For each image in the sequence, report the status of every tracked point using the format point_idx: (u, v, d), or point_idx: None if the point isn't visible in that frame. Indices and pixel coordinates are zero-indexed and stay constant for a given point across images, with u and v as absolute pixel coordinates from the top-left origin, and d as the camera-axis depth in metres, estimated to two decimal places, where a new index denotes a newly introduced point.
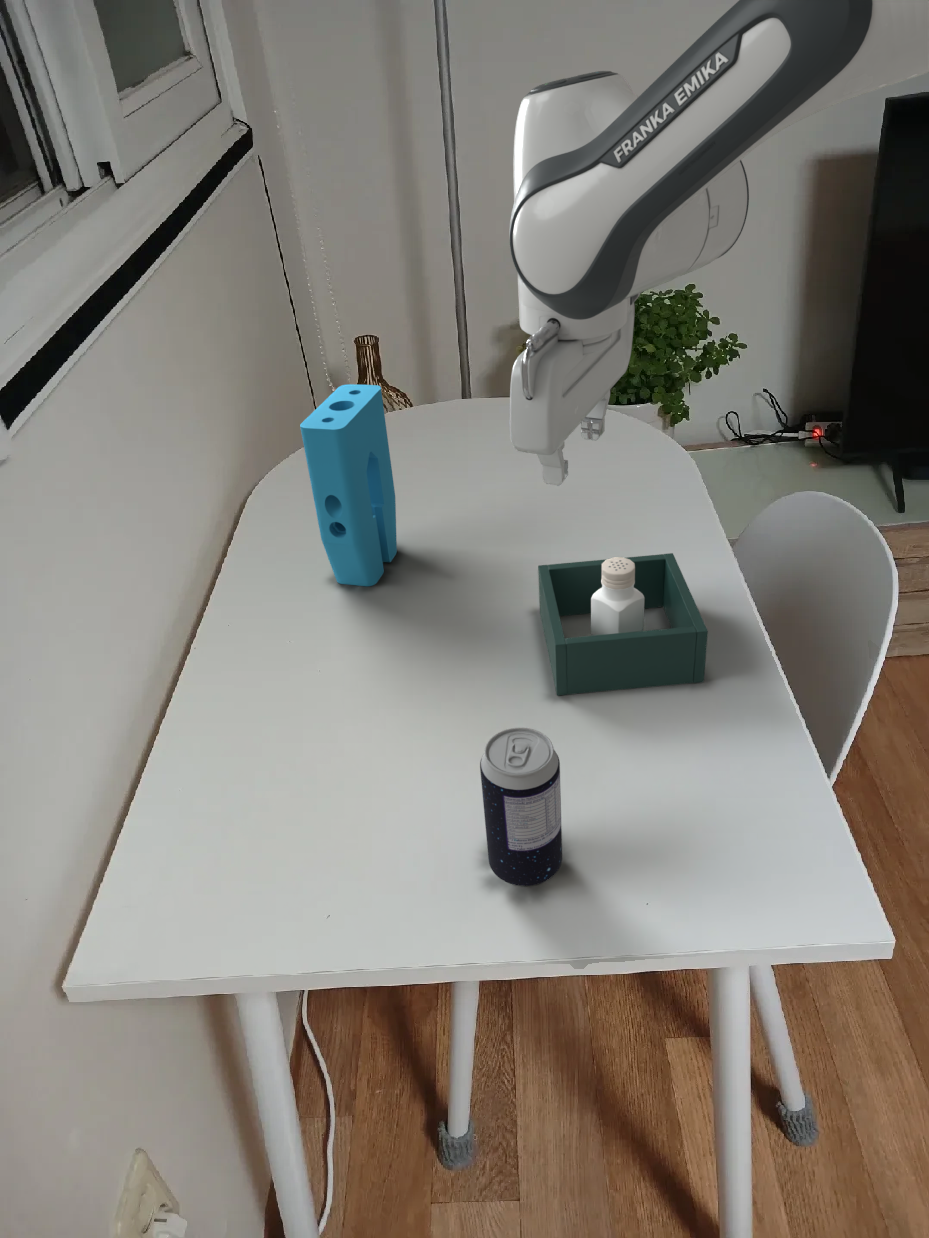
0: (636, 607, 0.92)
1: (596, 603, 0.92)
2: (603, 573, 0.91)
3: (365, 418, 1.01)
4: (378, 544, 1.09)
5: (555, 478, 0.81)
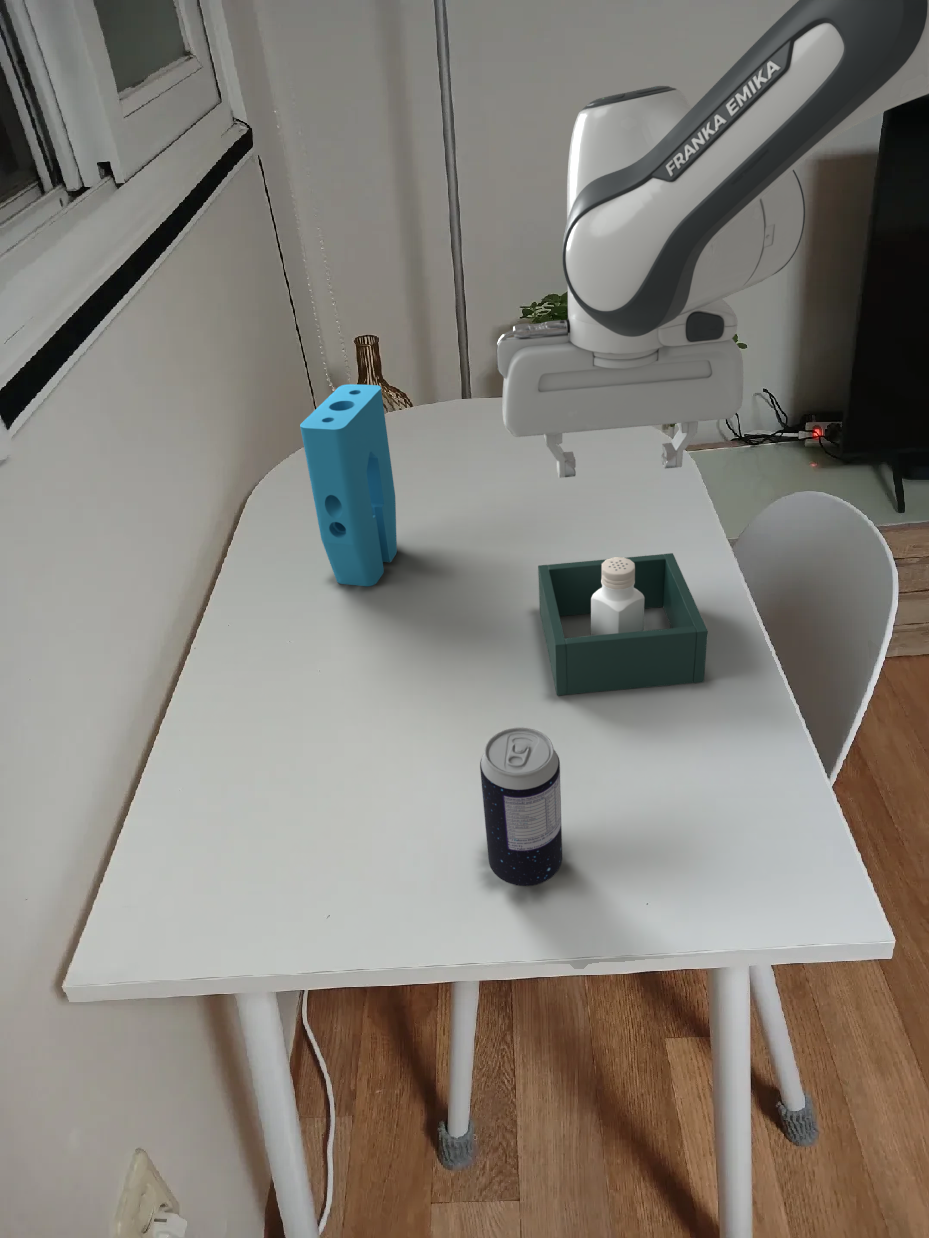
0: (636, 607, 0.92)
1: (596, 603, 0.92)
2: (603, 573, 0.91)
3: (365, 418, 1.01)
4: (378, 544, 1.09)
5: (558, 470, 0.84)
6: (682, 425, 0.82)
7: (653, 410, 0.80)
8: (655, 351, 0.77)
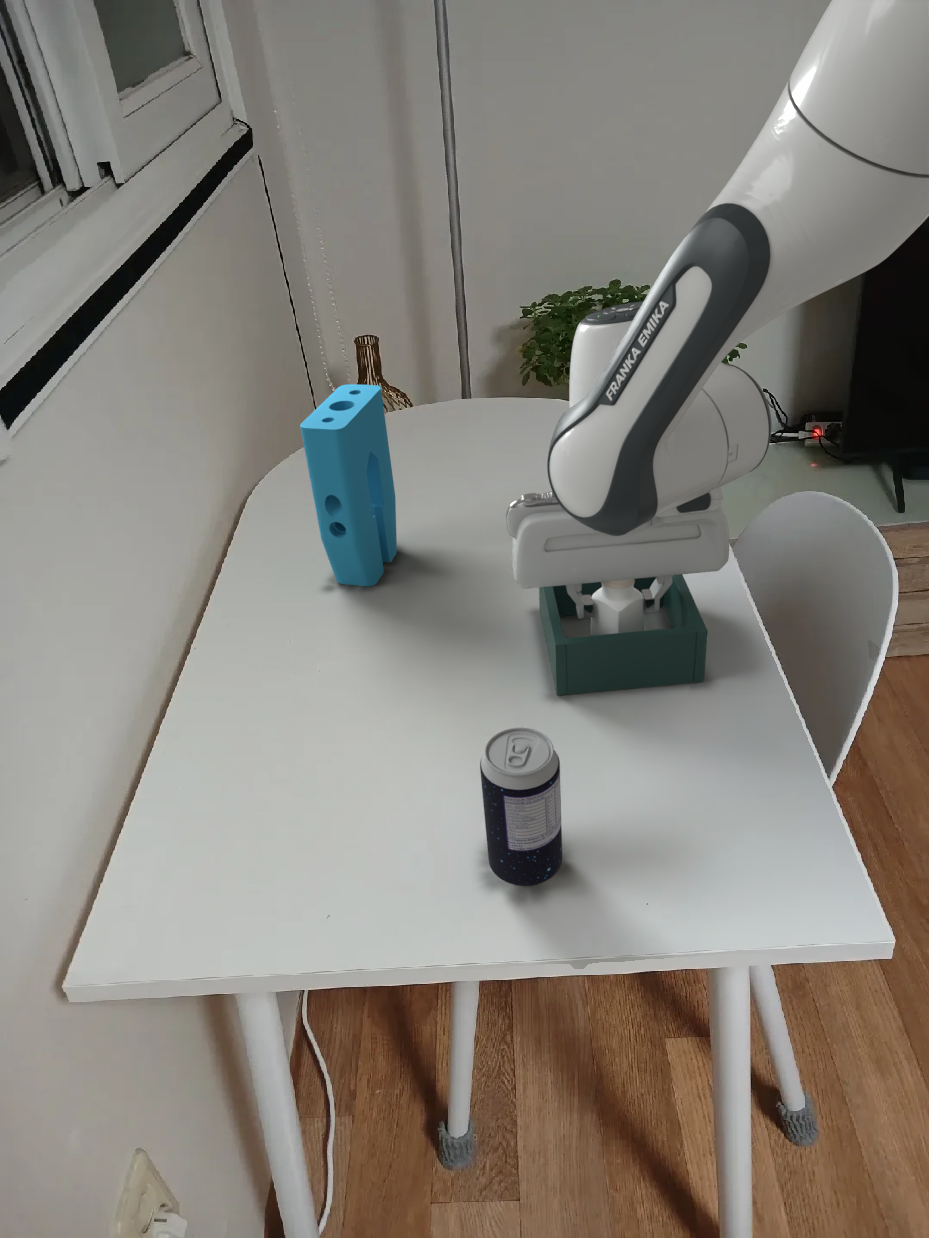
0: (635, 607, 0.92)
1: (596, 603, 0.92)
2: None
3: (365, 418, 1.01)
4: (378, 544, 1.09)
5: (577, 611, 0.93)
6: (658, 577, 0.90)
7: (648, 565, 0.89)
8: None
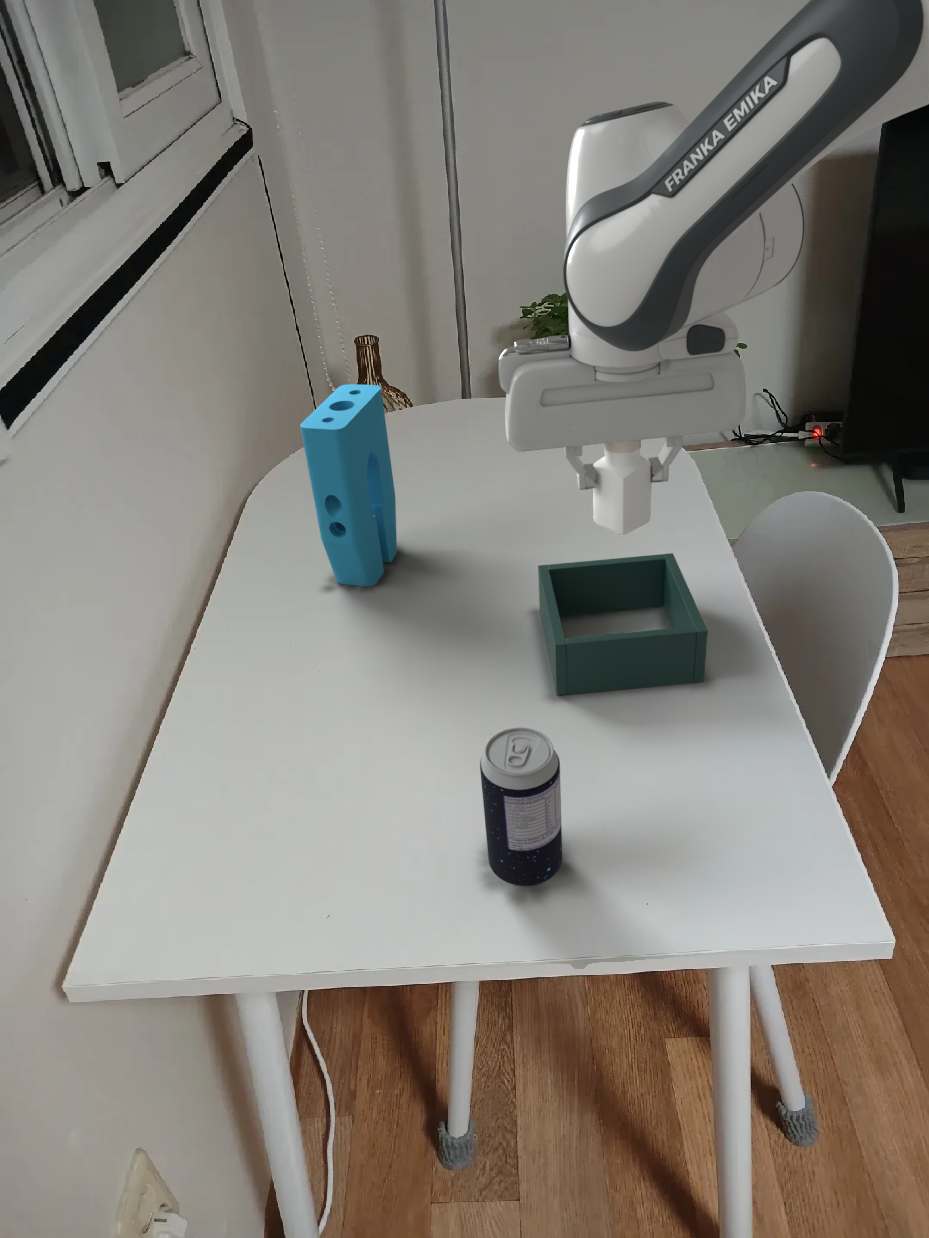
0: (642, 475, 0.83)
1: (599, 471, 0.84)
2: None
3: (365, 418, 1.01)
4: (378, 544, 1.09)
5: (578, 482, 0.84)
6: (667, 439, 0.82)
7: (656, 423, 0.80)
8: (656, 364, 0.77)
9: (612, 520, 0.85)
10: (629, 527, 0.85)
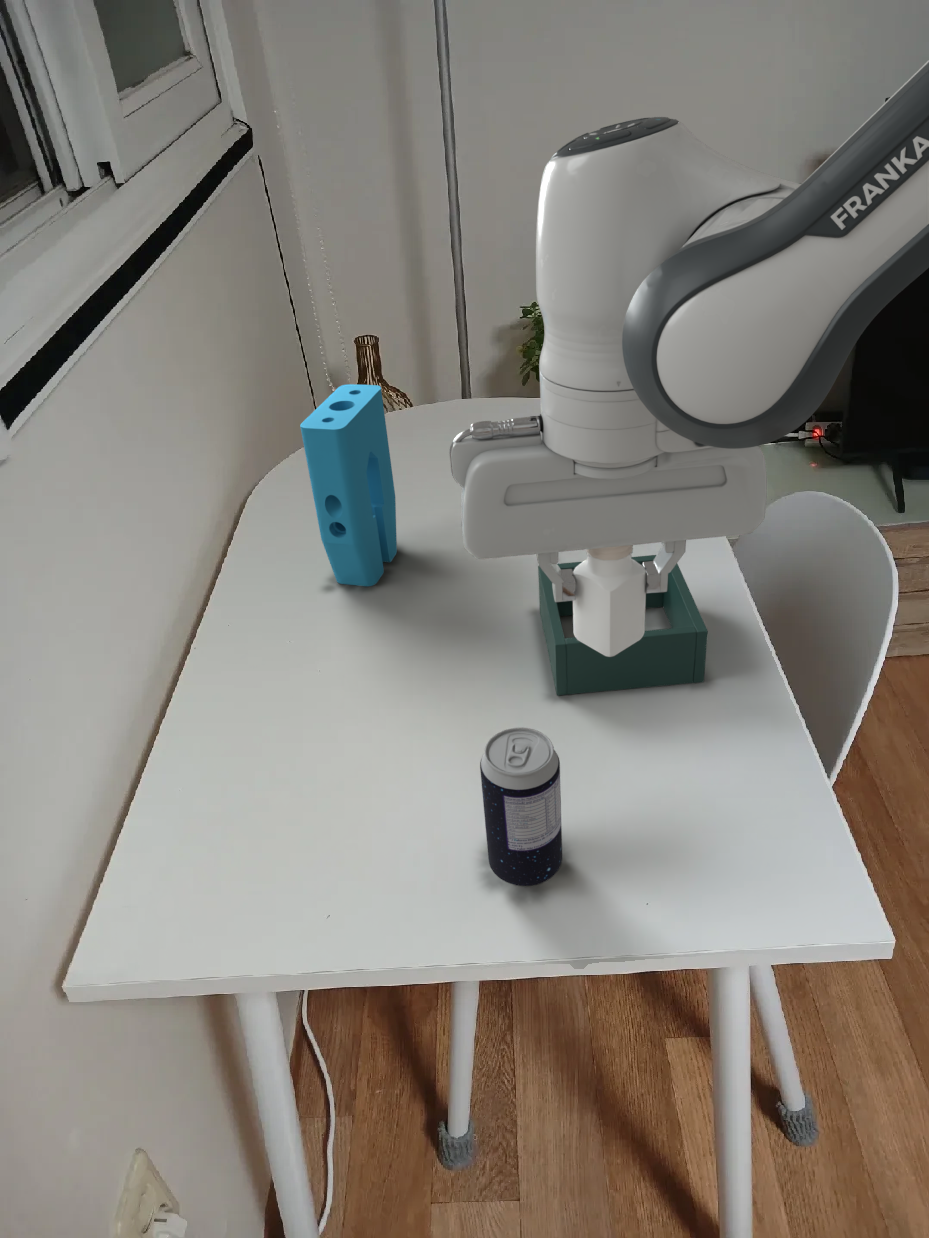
0: (634, 585, 0.66)
1: (580, 580, 0.67)
2: None
3: (365, 418, 1.01)
4: (378, 544, 1.09)
5: (554, 592, 0.67)
6: (666, 543, 0.65)
7: (652, 526, 0.63)
8: (653, 456, 0.60)
9: (596, 638, 0.68)
10: (618, 648, 0.68)
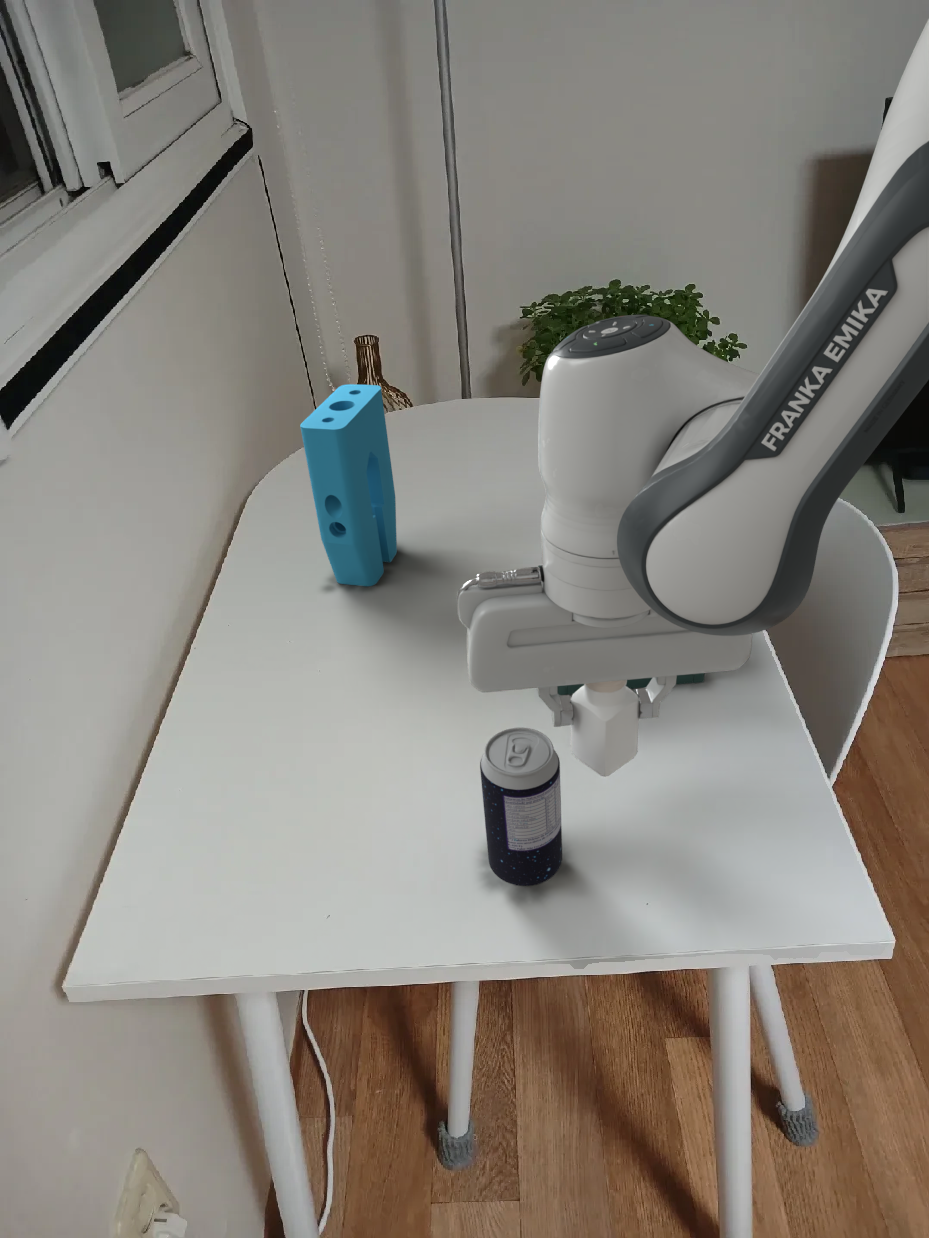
0: (628, 713, 0.70)
1: (577, 707, 0.71)
2: None
3: (365, 418, 1.01)
4: (378, 544, 1.09)
5: (553, 717, 0.72)
6: (658, 677, 0.69)
7: (645, 664, 0.67)
8: None
9: (592, 759, 0.72)
10: (612, 768, 0.72)
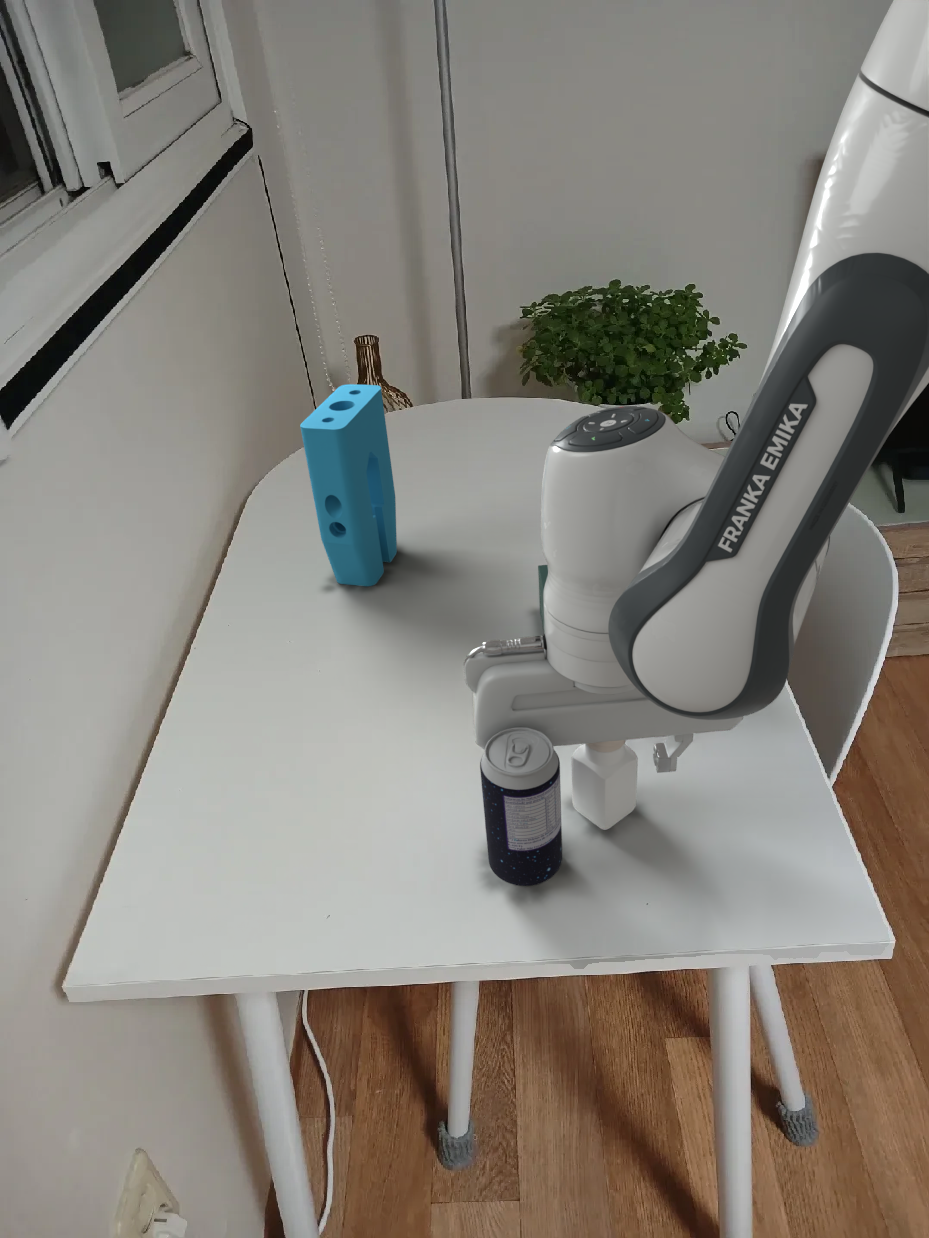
0: (627, 771, 0.74)
1: (578, 764, 0.74)
2: None
3: (365, 418, 1.01)
4: (378, 544, 1.09)
5: None
6: (676, 734, 0.72)
7: (643, 725, 0.71)
8: None
9: (593, 813, 0.76)
10: (612, 822, 0.76)
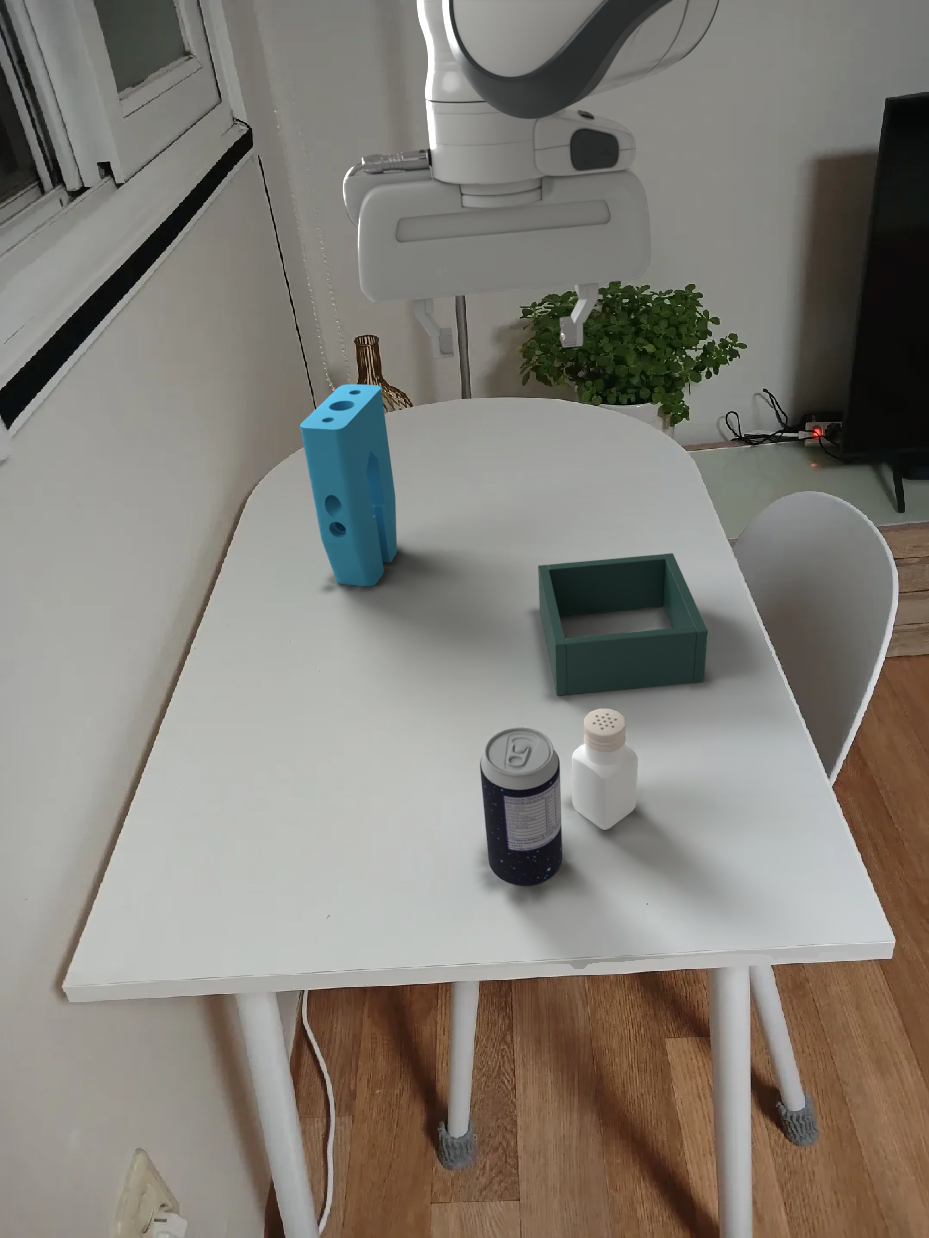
0: (627, 771, 0.74)
1: (578, 764, 0.74)
2: (586, 731, 0.72)
3: (365, 418, 1.01)
4: (378, 544, 1.09)
5: None
6: (579, 289, 0.67)
7: (541, 267, 0.65)
8: (537, 187, 0.62)
9: (593, 813, 0.76)
10: (612, 822, 0.76)
